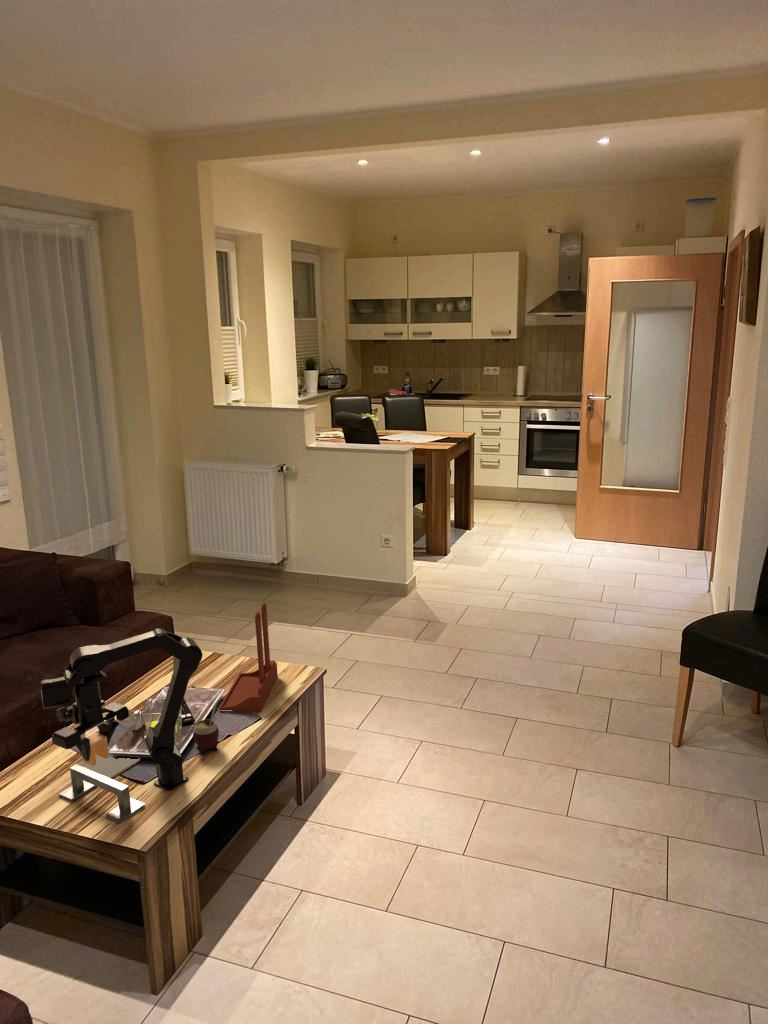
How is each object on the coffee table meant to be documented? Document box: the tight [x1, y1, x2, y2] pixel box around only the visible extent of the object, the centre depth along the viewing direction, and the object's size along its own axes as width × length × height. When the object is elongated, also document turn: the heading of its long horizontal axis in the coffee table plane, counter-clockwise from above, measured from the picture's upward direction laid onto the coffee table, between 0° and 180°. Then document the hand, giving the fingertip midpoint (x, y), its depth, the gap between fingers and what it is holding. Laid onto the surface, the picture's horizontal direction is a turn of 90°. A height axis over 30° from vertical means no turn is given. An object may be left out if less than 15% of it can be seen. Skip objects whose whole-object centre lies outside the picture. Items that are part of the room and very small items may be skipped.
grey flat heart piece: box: [125, 709, 141, 726], centre depth 230 cm, size 7×2×8 cm, turn 160°
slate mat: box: [71, 745, 141, 779], centre depth 212 cm, size 14×12×1 cm
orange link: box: [81, 732, 109, 766], centre depth 192 cm, size 4×5×6 cm
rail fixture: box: [58, 763, 146, 825], centre depth 195 cm, size 23×8×7 cm, turn 58°
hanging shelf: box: [218, 602, 279, 713], centre depth 248 cm, size 24×13×30 cm, turn 175°
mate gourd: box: [192, 695, 223, 756], centre depth 217 cm, size 8×8×15 cm
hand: (95, 755), depth 193 cm, fingers closed on orange link, 5 cm apart
